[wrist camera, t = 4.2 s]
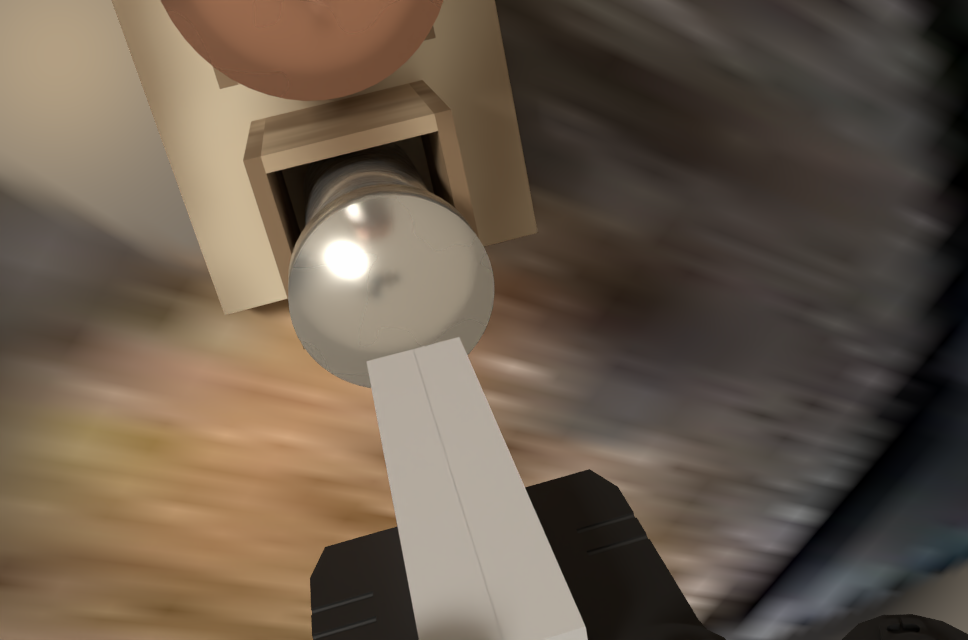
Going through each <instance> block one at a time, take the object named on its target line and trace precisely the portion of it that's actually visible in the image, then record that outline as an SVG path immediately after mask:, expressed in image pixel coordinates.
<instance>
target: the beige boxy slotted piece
mask: <svg viewBox="0 0 968 640" xmlns="http://www.w3.org/2000/svg"><path fill="white" fill-rule="evenodd" d="M112 3H113V6H114V8H115V11H116V14H117V17H118V20H119V22H120V25H121V28H122V30H123V33H124V36H125V39H126V42H127V45H128V47H129V50H130V53H131V56H132V58H133V61H134V64H135V67H136V69H137V72H138V75H139V78H140V81H141V84H142V86H143V89H144V92H145V95H146V97H147V100H148V103H149V106H150V109H151V111H152V114H153V117H154V119H155V122H156V125H157V128H158V131H159V134H160V136H161V139H162V142H163V145H164V147H165V150H166V153H167V156H168V158H169V161H170V164H171V167H172V170H173V172H174V175H175V178H176V181H177V184H178V186H179V189H180V192H181V195H182V198H183V200H184V203H185V206H186V208H187V212H188V214H189V217H190V219H191V223H192V225H193V228H194V231H195V234H196V237H197V239H198V242H199V245H200V248H201V250H202V253H203V256H204V259H205V262H206V264H207V267H208V270H209V273H210V276H211V278H212V281H213V284H214V287H215V289H216V292H217V295H218V298H219V301H220V303H221V306H222V309H223V312H224V314H225V315H227V314H231V313H235V312H238V311H242V310H246V309H250V308H254V307H257V306H261V305H265V304H269V303H273V302H276V301H280V300H284V299H288V275H289V265H290V260H291V256H292V253H293V250H294V247H295V244H296V242H297V240H298V238H299V236H300V234H301V232H302V231H303V230H304V228H305V212H304V195H303V184H304V178H305V174H306V171H307V168H308V166H309V164H310V163H311V162H315V161H319V160H323V159H327V158H331V157H335V156H339V155H343V154H347V153H351V152H355V151H359V150H363V149H367V148H371V147H375V146H379V145H383V144H387V143H391V142H394V143H395V144H396V145H398V146H399V147H400V148H401V149H402V150H404V152H405V153H406V154H407V155H408V156H409V158H410V159H411V161H412V162H413V164H414V166H415V168H416V170H417V171H418V173H419V175H420V177H421V178H422V180H423V182H424V184H425V185H426V187H427V189H428V191H429V192H431V193H433V194H435V195H437V196H439V197H441V198H442V199H443V200H445V201H446V202H448V203H449V204H451V205H452V206H453V207H454V208H455V209H456V210H458V211H459V212H460V213H461V214H462V216H463V217H464V218H465V219H466V220H467V222H468V223H469V224H470V226H471V228H472V229H473V231H474V232H475V234H476V235H477V237H478V239H479V240H480V242H481V243H482V245H483V246H484V247H485V246H489V245H493V244H497V243H501V242H504V241H508V240H512V239H516V238H520V237H523V236H527V235H531V234H535V233H538V231H537V226H536V220H535V215H534V210H533V204H532V199H531V193H530V188H529V183H528V177H527V172H526V166H525V161H524V156H523V150H522V145H521V139H520V134H519V129H518V123H517V118H516V112H515V107H514V102H513V96H512V91H511V85H510V80H509V75H508V69H507V64H506V58H505V53H504V47H503V42H502V37H501V31H500V26H499V20H498V15H497V10H496V4H495V0H444V1H443V3H442V6H441V9H440V12H439V14H438V17H437V19H436V21H435V22H434V24H433V26H432V28H431V30H430V32H429V34H428V35H427V37H426V38H425V40H424V41H423V42H422V44H421V45H420V47H419V48H418V49H417V50H416V52H415V53H414V54H413V55H412V56H411V57H410V58H409V59H408V60H407V62H406V63H404V64H403V65H402V66H401V67H400V68H398V69H397V70H396V71H395V72H394V73H393V74H391V75H390V76H388V77H387V78H385V79H383V80H382V81H380V82H379V83H377V84H375V85H373V86H371V87H369V88H367V89H365V90H363V91H360V92H357V93H354V94H351V95H348V96H345V97H340V98H334V99H329V100H318V101H301V100H290V99H284V98H279V97H275V96H270V95H267V94H264V93H261V92H258V91H255V90H253V89H250V88H248V87H246V86H244V85H242V84H240V83H238V82H236V81H234V80H232V79H230V78H229V77H227V76H226V75H224V74H223V73H221V72H220V71H218V70H217V69H215V68H214V67H213V66H212V65H211V64H209V63H208V62H207V61H206V60H205V59H204V58H202V57H201V56H200V55H199V54H198V53H197V52H196V51H195V50H194V49H193V47H192V46H191V45H190V44H189V43H188V42H187V41H186V40H185V39H184V37H183V36H182V35H181V33H180V32H179V30H178V29H177V28H176V26H175V25H174V23H173V22H172V21H171V19H170V17H169V15H168V13H167V12H166V10H165V8H164V6H163V4H162V3H161V0H112ZM303 348H304V347H303ZM304 349H305V348H304Z"/></svg>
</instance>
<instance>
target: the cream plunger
mask: <svg viewBox="0 0 968 640" xmlns="http://www.w3.org/2000/svg"><path fill="white" fill-rule="evenodd" d="M303 195H304V212H305V228H304V230H303V231H302V232H301V234H300V236H299V238H298V240H297V242H296V244H295V247H294V250H293V253H292V256H291V260H290V265H289V275H288V302H289V312H290V316H291V320H292V324H293V326H294V329H295V331H296V334H297V336H298V338H299V340H300V341H301V343H302V345H303V347H304V348H305V349H306V350H307V352H308V353H309V354H310V355H311V357H312V358H313V359H314V360H315V361H316V362H317V363H318V364H320V365H321V366H322V367H323V368H325V369H326V370H327V371H329V372H330V373H332V374H333V375H335V376H337V377H339V378H341V379H343V380H345V381H348V382H350V383H353V384H356V385H359V386H363V387H368V388H371V383H370V378H369V372H368V367H367V362H366V361H370V360H374V359H377V358H381V357H385V356H389V355H393V354H396V353H400V352H404V351H408V350H412V349H416V348H419V347H423V346H427V345H431V344H435V343H438V342H442V341H446V340H450V339H454V338H457V337H460V340H461V342H462V344H463V347H464V349H465V351H466V353H467V355H468V354H469V353H470V352H471V351H472V349H473V348H474V347H475V345H476V344H477V343H478V341H479V340H480V338H481V336H482V335H483V333H484V331H485V329H486V326H487V324H488V322H489V319H490V316H491V312H492V308H493V302H494V277H493V270H492V267H491V263H490V260H489V257H488V255H487V253H486V251H485V248H484V246H483V245H482V243H481V242H480V240H479V239H478V237H477V235H476V234H475V232H474V231H473V229H472V228H471V226H470V224H469V223H468V222H467V220H466V219H465V218H464V217H463V216H462V214H461V213H460V212H459V211H458V210H456V209H455V208H454V207H453V206H452V205H451V204H449V203H448V202H446V201H445V200H443V199H442V198H441V197H439V196H437V195H435V194H433V193H431V192H429V191H428V189H427V187H426V185H425V184H424V182H423V180H422V178H421V177H420V175H419V173H418V171H417V170H416V168H415V166H414V164H413V162H412V161H411V159H410V158H409V156H408V155H407V154H406V153H405V152H404V150H402V149H401V148H400V147H399V146H398V145H396V144H395V143H394V142H391V143H387V144H383V145H379V146H375V147H371V148H367V149H363V150H359V151H355V152H351V153H347V154H343V155H339V156H335V157H331V158H327V159H323V160H319V161H315V162H311V163H310V164H309V166H308V168H307V171H306V174H305V178H304V184H303Z"/></svg>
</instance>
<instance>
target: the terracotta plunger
mask: <svg viewBox="0 0 968 640" xmlns="http://www.w3.org/2000/svg"><path fill="white" fill-rule="evenodd" d="M443 1H444V0H161V3H162V4H163V6H164V8H165V10H166V12H167V13H168V15H169V17H170V19H171V21H172V22H173V23H174V25H175V26H176V28H177V29H178V30H179V32H180V33H181V35H182V36H183V37H184V39H185V40H186V41H187V42H188V43H189V44H190V45H191V46H192V47H193V49H194V50H195V51H196V52H197V53H198V54H199V55H200V56H201V57H202V58H204V59H205V60H206V61H207V62H208V63H209V64H211V65H212V66H213V67H214V68H215V69H217V70H218V71H220V72H221V73H223V74H224V75H226V76H227V77H229V78H230V79H232V80H234V81H236V82H238V83H240V84H242V85H244V86H246V87H248V88H250V89H253V90H255V91H258V92H261V93H264V94H267V95H270V96H275V97H279V98H284V99H290V100H301V101H318V100H329V99H334V98H340V97H345V96H348V95H351V94H354V93H357V92H360V91H363V90H365V89H367V88H369V87H371V86H373V85H375V84H377V83H379V82H380V81H382V80H383V79H385V78H387V77H388V76H390V75H391V74H393V73H394V72H395V71H396V70H397V69H398V68H400V67H401V66H402V65H403V64H404V63H406V62H407V60H408V59H409V58H410V57H411V56H412V55H413V54H414V53H415V52H416V50H417V49H418V48H419V47H420V45H421V44H422V42H423V41H424V40H425V38H426V37H427V35H428V34H429V32H430V30H431V28H432V26H433V24H434V22H435V21H436V19H437V17H438V14H439V12H440V9H441V6H442V3H443Z"/></svg>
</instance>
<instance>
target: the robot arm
mask: <svg viewBox="0 0 968 640" xmlns="http://www.w3.org/2000/svg"><path fill="white" fill-rule="evenodd" d="M366 362H367V367H368V372H369V378H370V383H371V388H372V393H373V399H374V404H375V409H376V415H377V420H378V425H379V430H380V436H381V441H382V446H383V452H384V457H385V462H386V468H387V473H388V478H389V483H390V489H391V494H392V499H393V505H394V510H395V515H396V521H397V526H398V527H394V528H391V529H387V530H384V531H380V532H377V533H373V534H370V535H366V536H363V537H359V538H356V539H352V540H348V541H345V542H341V543H338V544H334V545H331V546H327V547H325V549H324V551H323V553H322V555H321V557H320V559H319V561H318V563H317V565H316V567H315V569H314V571H313V573H312V575H311V577H310V589H311V610H312V615H311V617H312V636H313V640H726V639H725V638H724V637H722V636H719V635H717V634H715V633H713V632H711V631H709V630H707V629H706V628H705V627H704V626H703V624H702V623H701V622H700V621H699V620H698V618H697V617H696V615H695V613H694V612H693V610H692V608H691V607H690V605H689V603H688V602H687V600H686V598H685V597H684V595H683V593H682V592H681V590H680V589H679V587H678V585H677V584H676V582H675V580H674V579H673V577H672V575H671V574H670V572H669V570H668V569H667V567H666V565H665V564H664V562H663V561H662V559H661V557H660V556H659V554H658V552H657V551H656V549H655V547H654V546H653V544H652V542H651V541H650V539H648V538H647V535H646V532H645V531H644V529H643V528H642V526H641V524H640V523H639V521H638V519H637V518H635V517H634V513H633V511H632V509H631V508H630V506H629V504H628V503H627V501H626V500H625V498H624V496H623V495H622V493H621V491H620V490H619V488H618V487H617V486H615V485H614V484H612V483H611V482H609V481H607V480H606V479H604V478H603V477H601V476H599V475H598V474H596V473H595V472H593V471H591V470H590V469H589V470H585V471H582V472H578V473H575V474H571V475H568V476H564V477H561V478H557V479H554V480H550V481H547V482H543V483H540V484H536V485H533V486H529V487H526V488H525V487H524V484H523V482H522V480H521V477H520V475H519V473H518V471H517V468H516V466H515V464H514V461H513V459H512V457H511V454H510V452H509V450H508V448H507V445H506V443H505V441H504V438H503V436H502V434H501V432H500V429H499V427H498V425H497V422H496V420H495V418H494V415H493V413H492V411H491V409H490V406H489V404H488V402H487V399H486V397H485V395H484V392H483V390H482V388H481V386H480V383H479V381H478V379H477V376H476V374H475V372H474V370H473V367H472V365H471V363H470V360H469V358H468V356H467V353H466V351H465V349H464V347H463V344H462V342H461V340H460V337H457V338H454V339H450V340H446V341H442V342H438V343H435V344H431V345H427V346H423V347H419V348H416V349H412V350H408V351H404V352H400V353H396V354H393V355H389V356H385V357H381V358H377V359H374V360H370V361H366ZM842 640H968V634H966V633H964V632H963V631H961V630H959V629H957V628H955V627H953V626H951V625H949V624H947V623H945V622H943V621H939V620H935V619H930V618H926V617H922V616H917V615H913V614H907V615H882V616H879V617H877V618H874V619H871V620H868V621H865V622H862V623H860V624H858V625H857V626H856V627H855V628H854V629H853V630H851V631H850V632H849V633H848V634H847V635H846V636H845V637H844V638H843V639H842Z"/></svg>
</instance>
